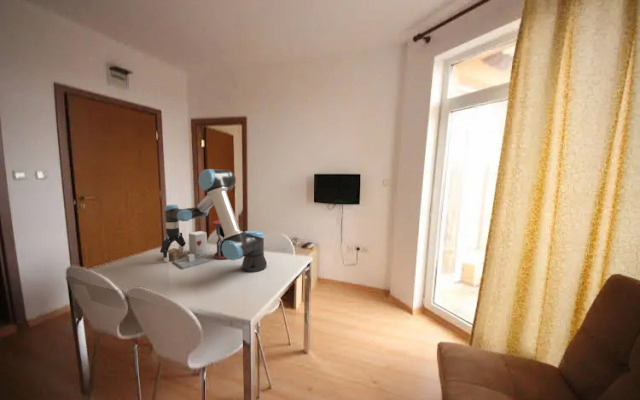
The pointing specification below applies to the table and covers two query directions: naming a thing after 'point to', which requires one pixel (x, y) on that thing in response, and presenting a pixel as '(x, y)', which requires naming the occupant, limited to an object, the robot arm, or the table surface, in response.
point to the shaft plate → (190, 261)
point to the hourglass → (219, 246)
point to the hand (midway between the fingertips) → (174, 258)
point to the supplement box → (197, 242)
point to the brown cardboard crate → (175, 254)
